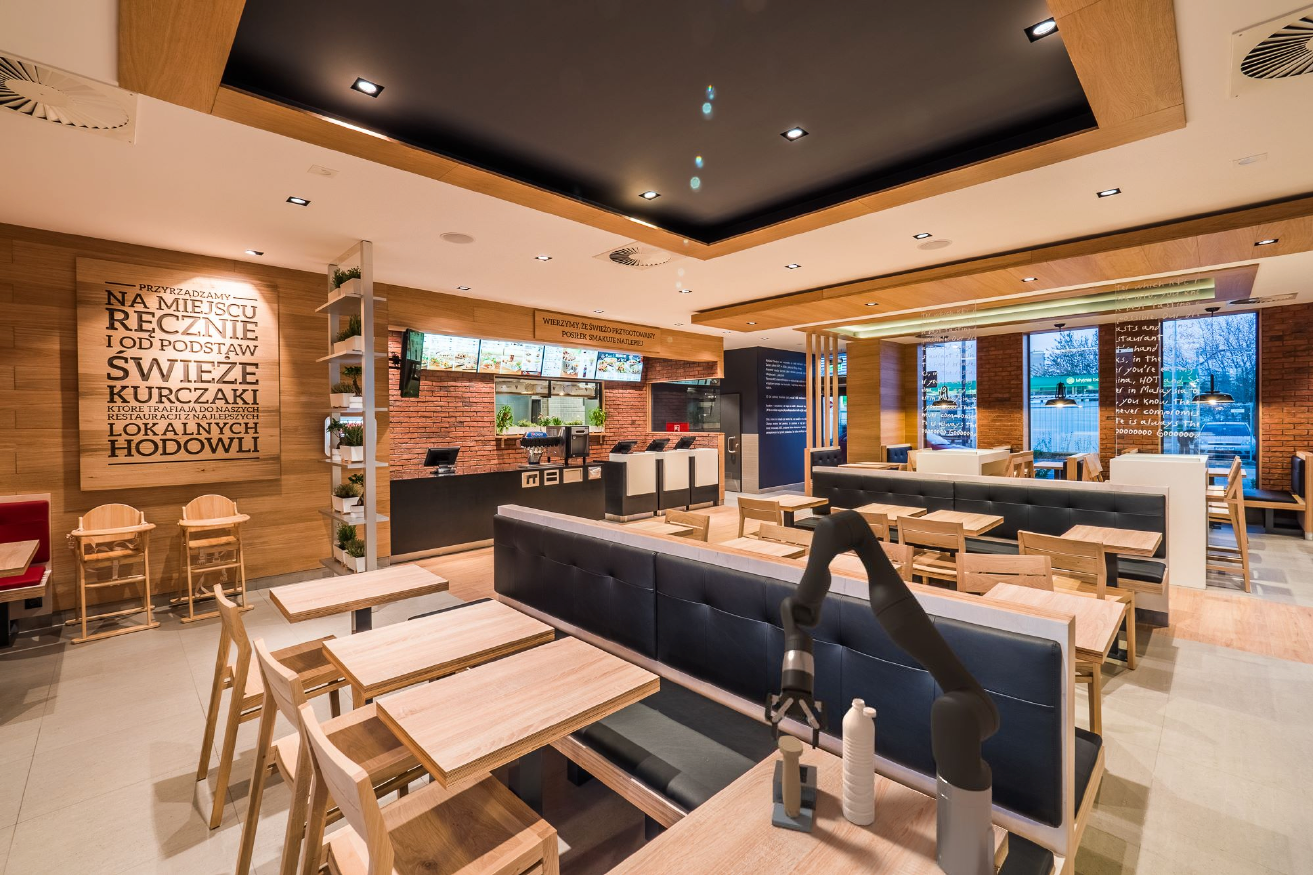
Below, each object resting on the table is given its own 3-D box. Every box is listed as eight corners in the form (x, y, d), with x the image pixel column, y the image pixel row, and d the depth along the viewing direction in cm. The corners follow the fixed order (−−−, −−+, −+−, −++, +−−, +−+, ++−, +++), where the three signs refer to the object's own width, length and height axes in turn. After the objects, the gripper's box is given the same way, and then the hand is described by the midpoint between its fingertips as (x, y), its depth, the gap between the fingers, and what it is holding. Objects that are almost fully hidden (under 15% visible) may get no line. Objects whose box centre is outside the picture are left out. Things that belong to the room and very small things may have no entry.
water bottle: (836, 807, 125) (837, 694, 124) (863, 804, 126) (864, 692, 126) (858, 835, 116) (858, 714, 116) (887, 831, 117) (887, 711, 117)
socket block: (816, 787, 132) (816, 766, 132) (815, 810, 124) (815, 787, 124) (776, 780, 134) (776, 759, 134) (772, 802, 127) (772, 779, 126)
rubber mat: (812, 814, 123) (812, 809, 123) (811, 832, 117) (811, 827, 117) (774, 806, 125) (774, 802, 125) (771, 824, 119) (771, 819, 119)
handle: (784, 824, 118) (783, 751, 118) (777, 804, 124) (775, 736, 124) (807, 823, 118) (806, 751, 118) (799, 803, 124) (797, 735, 125)
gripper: (767, 664, 139) (761, 734, 128) (828, 671, 135) (827, 745, 124) (769, 676, 144) (764, 745, 134) (828, 684, 140) (827, 755, 129)
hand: (794, 745), depth 129 cm, fingers open, 8 cm apart
